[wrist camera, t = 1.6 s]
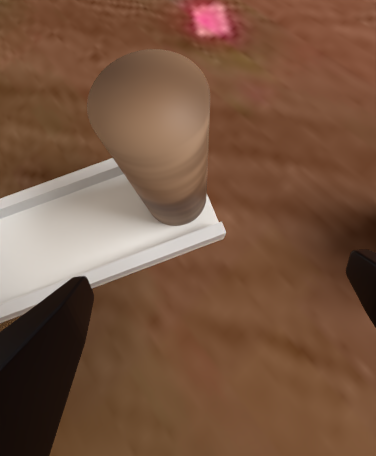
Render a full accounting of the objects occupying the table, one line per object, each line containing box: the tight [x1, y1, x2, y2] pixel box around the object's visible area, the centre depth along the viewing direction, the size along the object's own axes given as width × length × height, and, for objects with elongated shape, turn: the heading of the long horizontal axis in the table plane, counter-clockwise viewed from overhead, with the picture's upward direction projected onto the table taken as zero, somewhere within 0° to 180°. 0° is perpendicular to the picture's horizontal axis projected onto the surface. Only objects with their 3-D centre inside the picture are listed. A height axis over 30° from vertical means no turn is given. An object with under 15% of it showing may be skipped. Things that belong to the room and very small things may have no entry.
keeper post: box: [87, 49, 210, 226], centre depth 17 cm, size 6×6×12 cm
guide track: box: [0, 158, 226, 323], centre depth 20 cm, size 24×10×6 cm, turn 111°
